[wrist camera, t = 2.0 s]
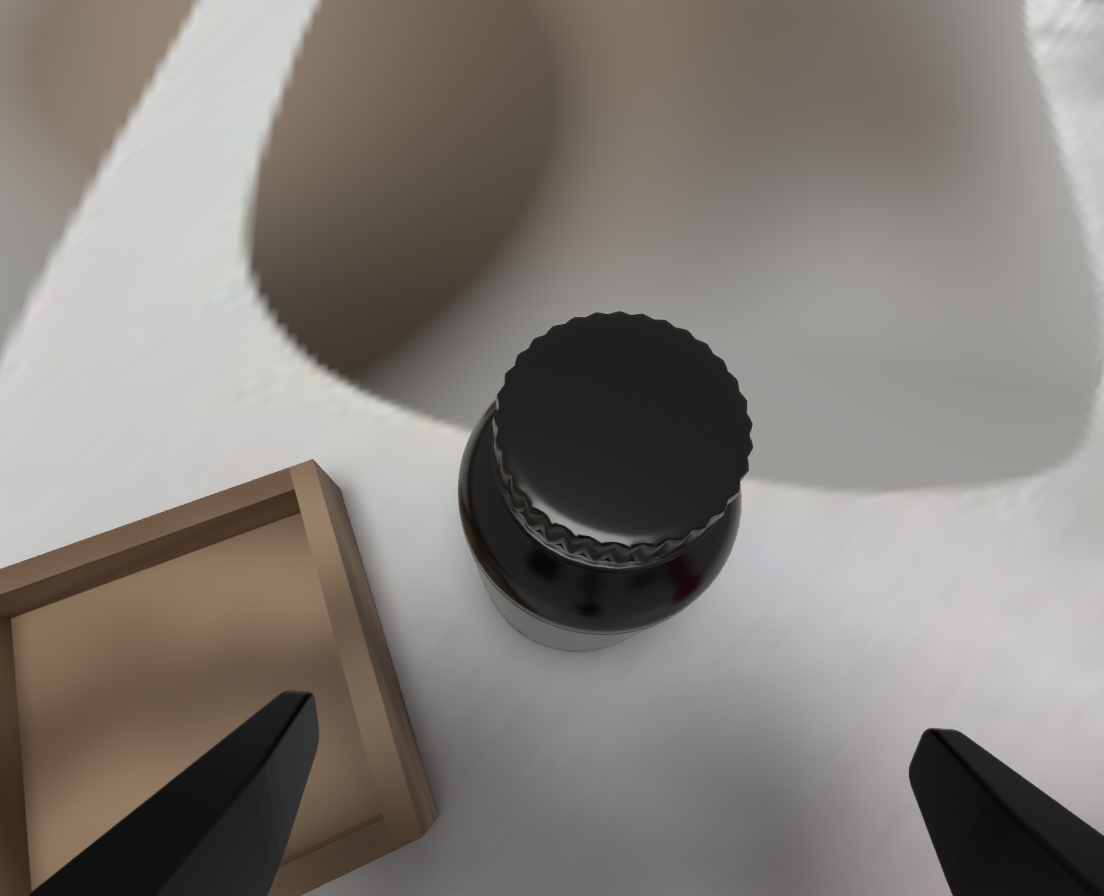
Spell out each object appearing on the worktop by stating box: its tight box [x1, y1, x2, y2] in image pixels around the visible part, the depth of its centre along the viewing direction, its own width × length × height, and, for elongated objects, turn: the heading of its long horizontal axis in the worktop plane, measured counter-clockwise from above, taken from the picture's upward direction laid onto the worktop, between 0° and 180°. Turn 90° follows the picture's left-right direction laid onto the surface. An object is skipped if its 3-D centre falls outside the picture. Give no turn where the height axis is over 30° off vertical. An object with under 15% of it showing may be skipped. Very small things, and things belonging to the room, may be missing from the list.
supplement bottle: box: [458, 311, 753, 651], centre depth 16 cm, size 7×7×12 cm
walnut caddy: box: [0, 459, 438, 896], centre depth 18 cm, size 12×12×3 cm
